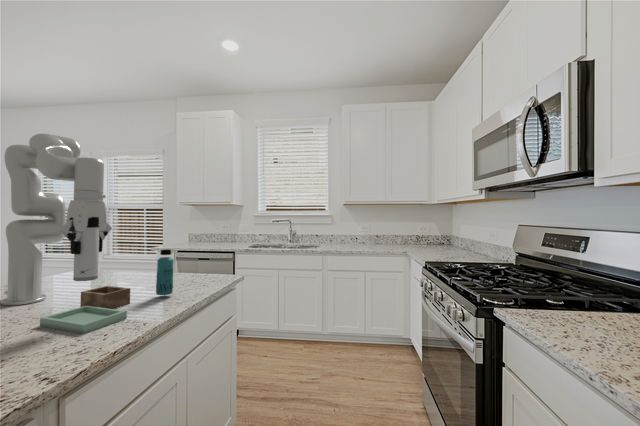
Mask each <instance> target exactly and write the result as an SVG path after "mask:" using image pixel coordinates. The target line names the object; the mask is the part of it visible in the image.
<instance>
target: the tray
mask: <svg viewBox="0 0 640 426" xmlns="http://www.w3.org/2000/svg"><path fill="white" fill-rule="evenodd" d="M127 316H128V315H127V310H123V309H122V310H120V309H116V308H115V309H108V308H101V307H94V306H87V305H86V306H83V307H76V308H72V309H69V310H64V311H61V312H57V313H54V314H50V315H46V316H43V317H40V318H39V327H43V328H49V329H54V330H61V331H64V332H65V331H66V332H71V333H77V334H81V335H85V334H87V333H89V332H93V331H96V330H99V329H100V328H103V327H106V326H110V325H113V324H116V323H118V322H120V321H123V320H126V319H127Z"/></svg>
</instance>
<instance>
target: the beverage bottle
mask: <svg viewBox="0 0 640 426" xmlns="http://www.w3.org/2000/svg"><path fill="white" fill-rule="evenodd" d="M160 255H161V256H162V257H159V258H158V259H156V260H157V261H156V262H157V264H156V267H157V268H156V276H155V277H156V279H155V280H156V283H155V293H156V295H157V296H168V295H171V294H172V293H173V292H174V263H175V262H174V261H175V259H173V257H171V255H172V250H171V249H170V248H169V249H165V248H163V249H161V250H160ZM168 255H170V256H168Z"/></svg>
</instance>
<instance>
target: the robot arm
mask: <svg viewBox="0 0 640 426" xmlns="http://www.w3.org/2000/svg"><path fill="white" fill-rule="evenodd" d="M28 144H29V145H28ZM28 144H12V145H9V146H7V148H6V149H5V151H4V164H5V168H6V170H7V173H8V175H9V178H10V198H11V199H10V201H11V202H10V204H11V211H12V212H13V213H12V214H15V215H17V216H24V217H46V218H47V219H27V218H26V219H16V220H12V221H10V222H8V223H7V225H6V226H5V236H6V241H7V249H8V250H7V251H8V253H7V254H8V256H7V257H8V259H7V261H8V263H7V266H8V267H7V290H6V291H5V292H4V294H5V295H6V296H7V297H6V298H4V299H2V300H0V301H1V302H0V304H1V305H3V306H19V305H20V306H22V305H28V304H33V303H34V304H35V303H38V302H41V301H44V300H46V299H47V295H46V294H43V293H42V279H43V275H42V274H43V253H42V252H41V251H40V249H39V248H37V246H35V245H37V244H51V243H59V242H61V241H63V240H64V239H65V238H66V239H68V241H69V242H70V254H71V255H74V254H80V253H81V241H79V239H80V237H81V234H82V232H85V230H86V227H87V226H88V224H87V223H88V218H92V217H99V224H98V225H99V253H102V252H103V245H104V243H103V241H104V240H105V239H106V236H107V235H109V232H111V231H112V226H111V225H110V224H109V223H108V222H107V221H108V219H107V210H106V209H107V208H106V203H105V201H104V199H106V195H107V194H104V182H105V181H104V179H105V177H104V176H105V175H104V174H105V164H104V161H103V160H102V159H99V158H94V157H88V156H87V157H86V156H85V157H84V156H81V157H80V155H81V146H80V144H79V142H78V141H77V140H75V139H73V138H69V137H65V136H61V135H56V134H49V133H37V134H34V135H32V136H31V137H30V139H29V141H28ZM32 169H36V170H38V171H39V173H40V174H41V175H43V176H44V177H45V178H48V179H51V180H54V181H56V180H57V181H64V182H65V181H67V182H73V200H70V202H69V204H68V207H67V213H66V203H65V200H64V198H63V197H62V196H61V195H60V194H58V193H51V192H43V191H42V181H41V178H40V177H39V176H38V175H37V174H36V173H35V172H34V171H33V170H32Z"/></svg>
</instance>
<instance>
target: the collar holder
mask: <svg viewBox="0 0 640 426" xmlns="http://www.w3.org/2000/svg"><path fill="white" fill-rule="evenodd" d="M130 304H131V288H130V287H122V286H114V285H113V286H111V285H106V286H101V287H96V288H92V289H87V290H83V291H80V307H83V306H86V305H87V306H94V307H101V308H108V309H114V308H115V309H117V307H118V308H121V307H123V306H124V305H125V306H127V305H130ZM120 306H121V307H120ZM125 306H124V307H125Z"/></svg>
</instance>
